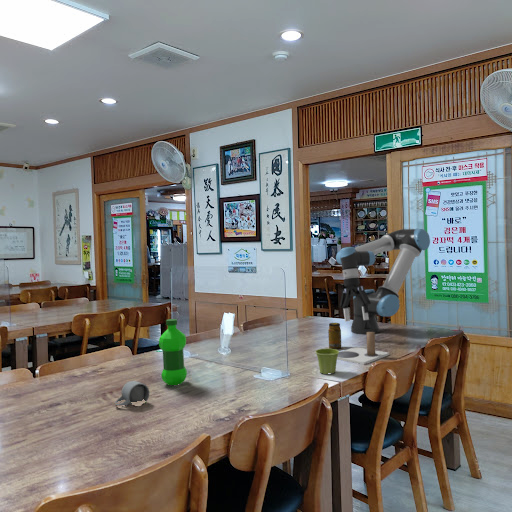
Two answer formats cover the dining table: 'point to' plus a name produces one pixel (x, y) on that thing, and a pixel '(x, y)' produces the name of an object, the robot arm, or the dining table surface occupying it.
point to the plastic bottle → (173, 354)
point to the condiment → (335, 337)
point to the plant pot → (327, 360)
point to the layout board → (362, 352)
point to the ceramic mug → (133, 393)
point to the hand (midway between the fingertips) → (356, 320)
